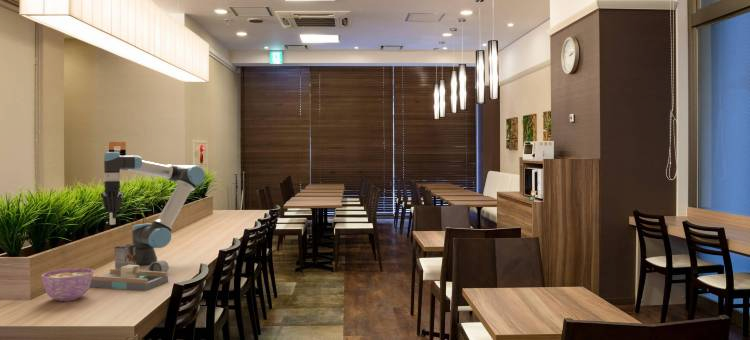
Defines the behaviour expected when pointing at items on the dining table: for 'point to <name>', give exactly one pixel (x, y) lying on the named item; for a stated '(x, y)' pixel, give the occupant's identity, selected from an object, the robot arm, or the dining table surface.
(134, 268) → the maple block
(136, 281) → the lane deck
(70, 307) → the dining table surface
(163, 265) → the ceramic mug
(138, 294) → the dining table surface
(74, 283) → the bowl of food
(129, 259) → the coffee box
